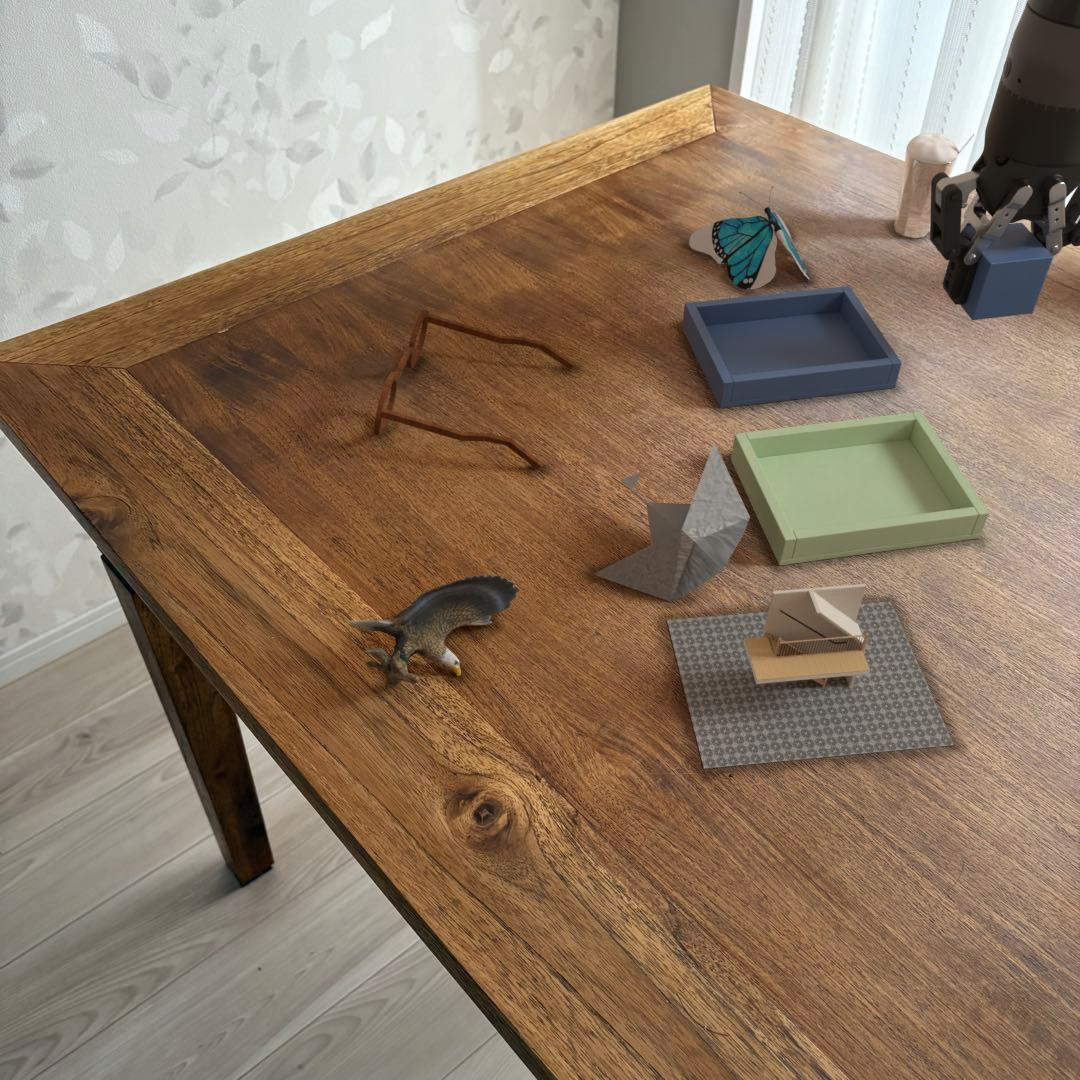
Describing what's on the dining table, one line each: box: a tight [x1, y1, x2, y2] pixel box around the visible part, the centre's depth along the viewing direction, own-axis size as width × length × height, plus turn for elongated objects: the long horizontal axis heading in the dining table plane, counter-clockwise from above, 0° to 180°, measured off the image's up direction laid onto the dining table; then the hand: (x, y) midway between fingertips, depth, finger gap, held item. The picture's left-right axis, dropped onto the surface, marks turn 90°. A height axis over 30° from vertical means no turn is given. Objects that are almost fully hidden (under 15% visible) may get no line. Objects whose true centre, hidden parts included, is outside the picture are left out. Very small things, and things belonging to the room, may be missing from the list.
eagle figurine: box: [348, 574, 520, 690], centre depth 68 cm, size 8×7×9 cm
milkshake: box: [893, 133, 975, 239], centre depth 102 cm, size 4×5×10 cm
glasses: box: [373, 308, 575, 470], centre depth 85 cm, size 13×13×5 cm
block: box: [960, 222, 1054, 321], centre depth 85 cm, size 5×5×5 cm
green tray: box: [730, 411, 990, 566], centre depth 79 cm, size 15×11×2 cm
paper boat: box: [592, 442, 751, 603], centre depth 74 cm, size 12×6×9 cm
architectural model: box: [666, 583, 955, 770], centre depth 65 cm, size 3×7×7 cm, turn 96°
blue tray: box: [681, 285, 903, 409], centre depth 91 cm, size 15×11×2 cm
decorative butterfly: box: [688, 185, 811, 290], centre depth 100 cm, size 10×6×10 cm
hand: (989, 294), depth 86 cm, fingers closed on block, 5 cm apart
